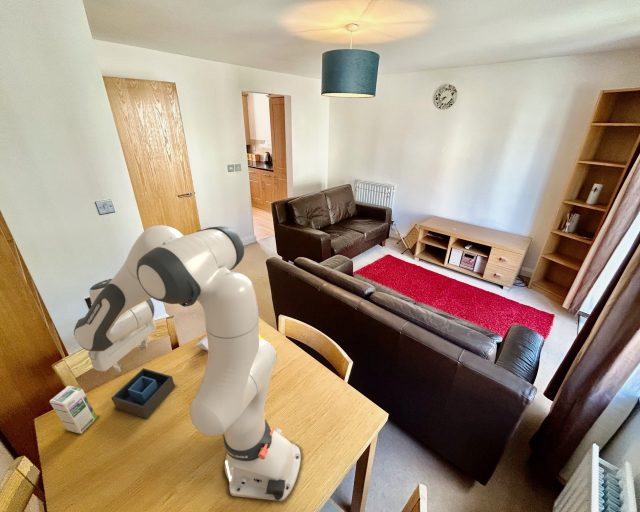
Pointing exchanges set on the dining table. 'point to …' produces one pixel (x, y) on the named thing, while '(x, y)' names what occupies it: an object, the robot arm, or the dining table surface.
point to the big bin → (164, 388)
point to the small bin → (143, 390)
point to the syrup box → (73, 409)
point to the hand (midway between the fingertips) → (132, 359)
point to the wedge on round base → (203, 344)
